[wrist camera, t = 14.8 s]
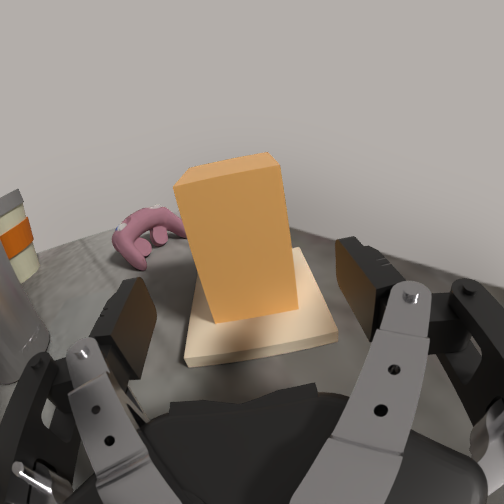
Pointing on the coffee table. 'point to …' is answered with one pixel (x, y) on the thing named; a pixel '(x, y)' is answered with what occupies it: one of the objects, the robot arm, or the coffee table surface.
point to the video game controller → (141, 222)
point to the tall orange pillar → (239, 236)
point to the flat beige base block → (260, 326)
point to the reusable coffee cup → (17, 236)
